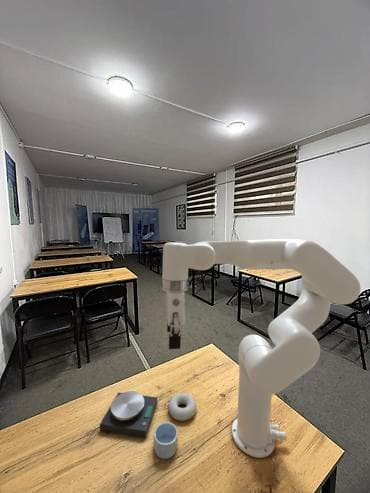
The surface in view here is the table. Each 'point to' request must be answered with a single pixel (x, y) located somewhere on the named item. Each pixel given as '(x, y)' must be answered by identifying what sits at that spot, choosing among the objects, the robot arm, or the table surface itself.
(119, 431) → the scale
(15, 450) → the table surface
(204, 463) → the table surface
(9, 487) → the table surface
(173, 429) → the light blue cup
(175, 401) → the donut
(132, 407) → the scale pan
